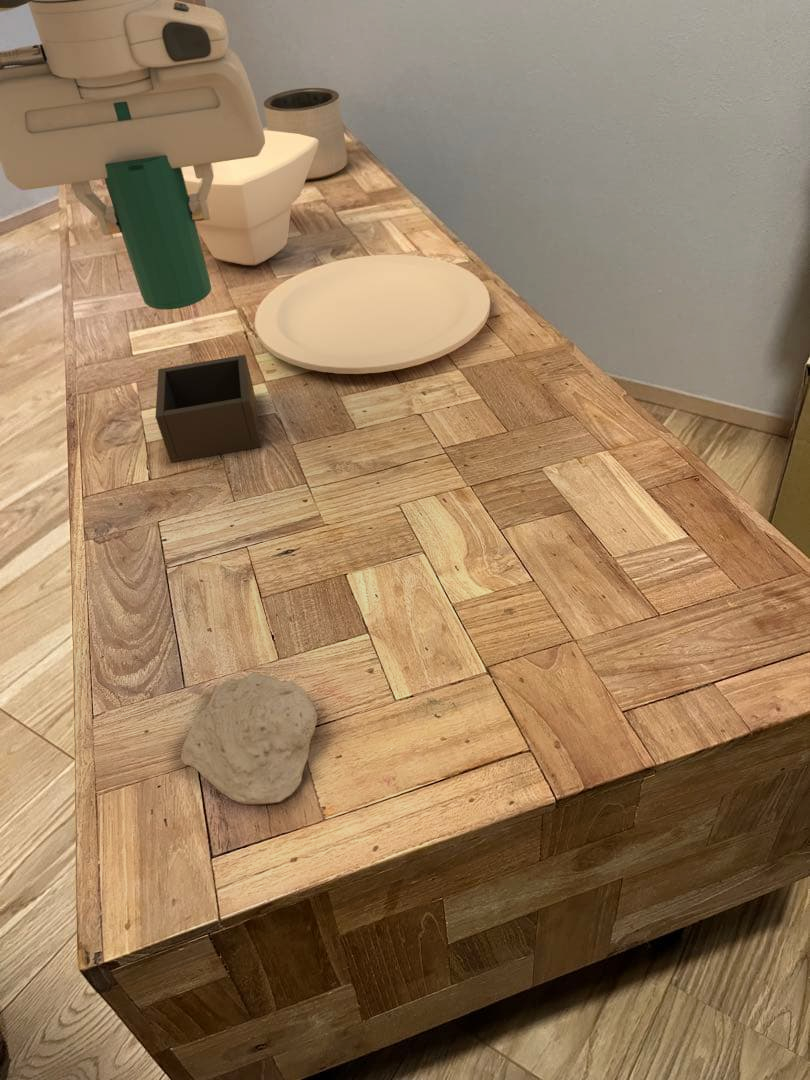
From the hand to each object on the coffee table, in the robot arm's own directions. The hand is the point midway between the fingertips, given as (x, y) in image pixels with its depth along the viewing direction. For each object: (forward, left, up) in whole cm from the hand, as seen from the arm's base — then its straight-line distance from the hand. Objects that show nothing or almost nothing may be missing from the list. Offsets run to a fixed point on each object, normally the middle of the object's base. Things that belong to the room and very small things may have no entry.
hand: (158, 225), depth 69 cm
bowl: (+6, +44, -22) cm, 49 cm away
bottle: (0, 0, -6) cm, 6 cm away
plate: (+19, +19, -22) cm, 35 cm away
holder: (0, +2, -22) cm, 22 cm away
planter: (+18, +76, -22) cm, 81 cm away
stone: (+1, -38, -22) cm, 44 cm away
